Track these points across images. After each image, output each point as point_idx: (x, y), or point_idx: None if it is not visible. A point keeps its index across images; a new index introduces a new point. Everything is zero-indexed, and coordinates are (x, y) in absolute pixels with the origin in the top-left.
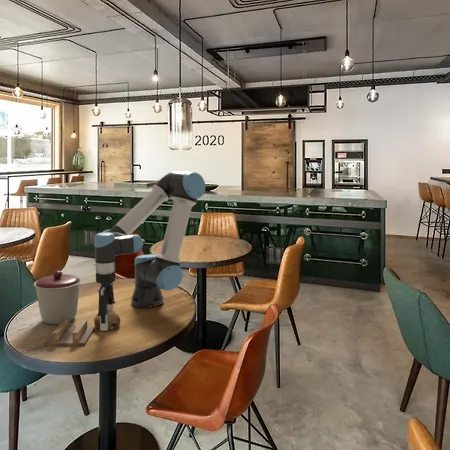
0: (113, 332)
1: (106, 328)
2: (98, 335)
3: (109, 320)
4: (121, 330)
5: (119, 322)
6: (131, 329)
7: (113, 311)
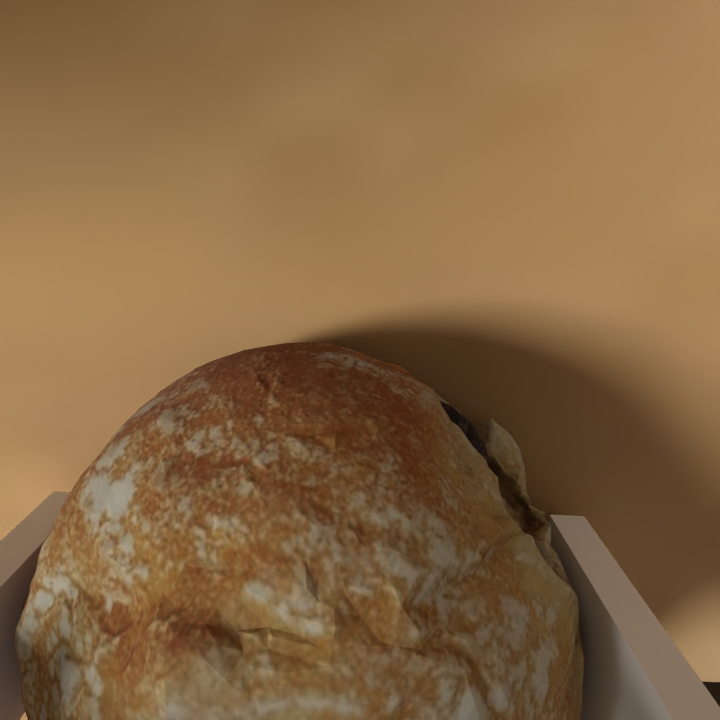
0: (605, 402)
1: (600, 556)
2: (674, 603)
3: (562, 619)
4: (539, 269)
5: (354, 355)
6: (519, 51)
7: (208, 692)
